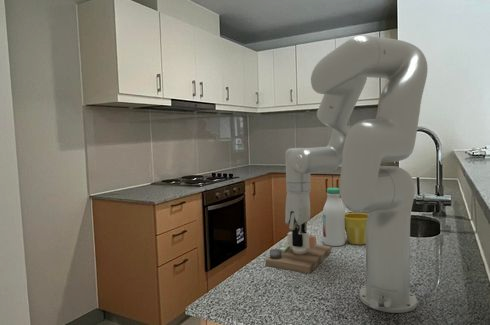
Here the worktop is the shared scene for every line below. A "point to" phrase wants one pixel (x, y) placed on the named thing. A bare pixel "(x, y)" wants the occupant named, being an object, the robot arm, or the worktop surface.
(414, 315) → the worktop surface
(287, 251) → the brown lever switch panel
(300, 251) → the wing knob
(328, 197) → the milk bottle
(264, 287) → the worktop surface
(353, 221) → the plant pot
